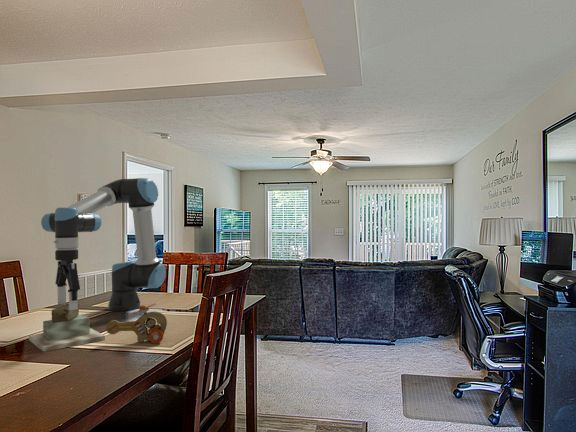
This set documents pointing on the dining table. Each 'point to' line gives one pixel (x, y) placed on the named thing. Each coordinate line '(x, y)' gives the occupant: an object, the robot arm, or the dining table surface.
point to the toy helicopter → (142, 325)
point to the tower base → (65, 341)
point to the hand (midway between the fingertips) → (67, 306)
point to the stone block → (64, 313)
